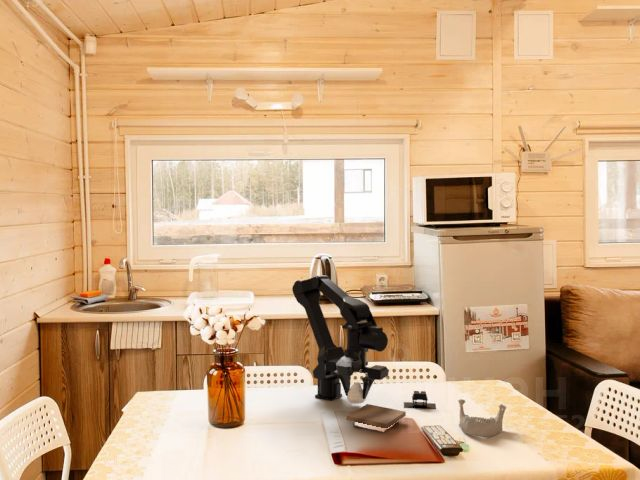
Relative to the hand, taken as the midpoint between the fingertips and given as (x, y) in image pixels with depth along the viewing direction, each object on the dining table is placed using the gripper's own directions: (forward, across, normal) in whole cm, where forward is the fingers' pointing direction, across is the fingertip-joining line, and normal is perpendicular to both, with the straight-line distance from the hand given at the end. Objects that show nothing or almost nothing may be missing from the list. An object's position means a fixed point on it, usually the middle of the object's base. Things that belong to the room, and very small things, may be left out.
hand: (355, 397), depth 183 cm
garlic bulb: (+2, 0, 0) cm, 2 cm away
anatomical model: (+3, +37, +1) cm, 37 cm away
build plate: (+4, +15, +12) cm, 20 cm away
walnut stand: (+3, +12, -10) cm, 16 cm away
